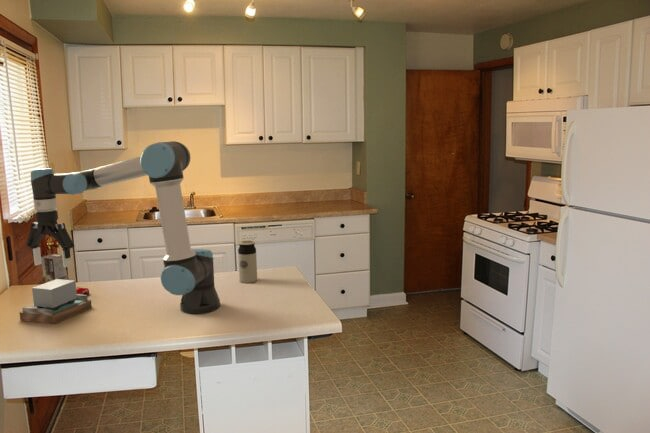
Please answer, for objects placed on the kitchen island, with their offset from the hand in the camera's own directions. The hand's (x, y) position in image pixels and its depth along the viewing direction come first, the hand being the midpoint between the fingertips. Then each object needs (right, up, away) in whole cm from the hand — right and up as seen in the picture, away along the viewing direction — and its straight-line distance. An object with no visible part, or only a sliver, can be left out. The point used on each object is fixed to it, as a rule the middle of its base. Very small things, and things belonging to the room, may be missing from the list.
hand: (52, 265), depth 208 cm
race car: (-2, -16, +22) cm, 27 cm away
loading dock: (0, -19, +3) cm, 19 cm away
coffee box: (-13, -14, +30) cm, 36 cm away
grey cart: (0, -15, +3) cm, 16 cm away
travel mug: (+68, -11, +42) cm, 81 cm away
